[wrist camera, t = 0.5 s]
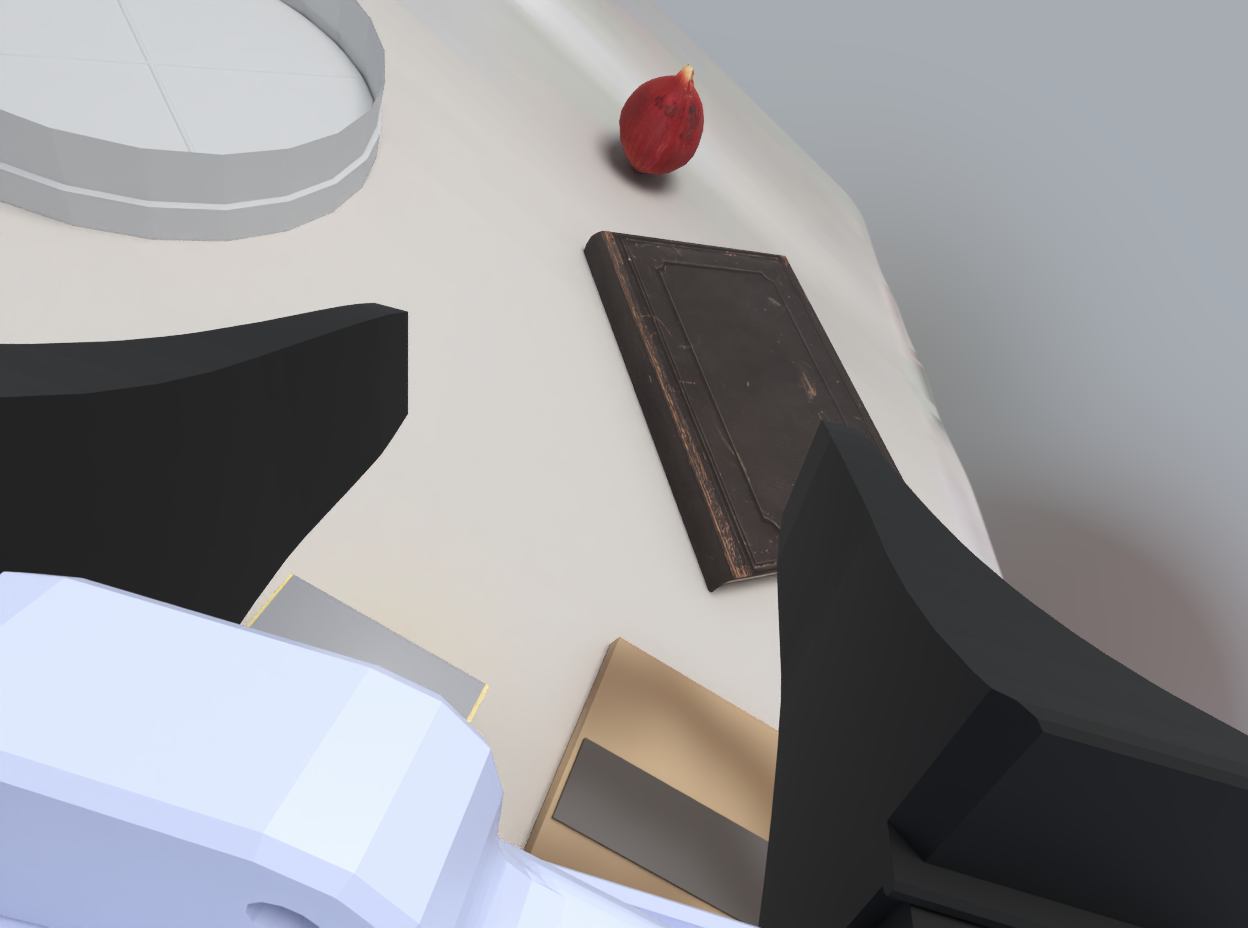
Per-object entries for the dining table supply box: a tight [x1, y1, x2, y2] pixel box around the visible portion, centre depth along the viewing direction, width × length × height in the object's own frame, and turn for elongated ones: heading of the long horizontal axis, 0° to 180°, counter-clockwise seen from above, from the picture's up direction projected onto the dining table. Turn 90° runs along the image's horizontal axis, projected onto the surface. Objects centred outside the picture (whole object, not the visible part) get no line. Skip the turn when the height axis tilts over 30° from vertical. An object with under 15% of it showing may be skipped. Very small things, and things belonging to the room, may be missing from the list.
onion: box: [619, 64, 704, 174], centre depth 47 cm, size 6×6×8 cm
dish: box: [0, 0, 385, 241], centre depth 33 cm, size 22×22×5 cm
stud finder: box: [246, 574, 489, 723], centre depth 22 cm, size 4×7×6 cm, turn 67°
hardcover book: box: [584, 231, 904, 592], centre depth 42 cm, size 16×23×2 cm
